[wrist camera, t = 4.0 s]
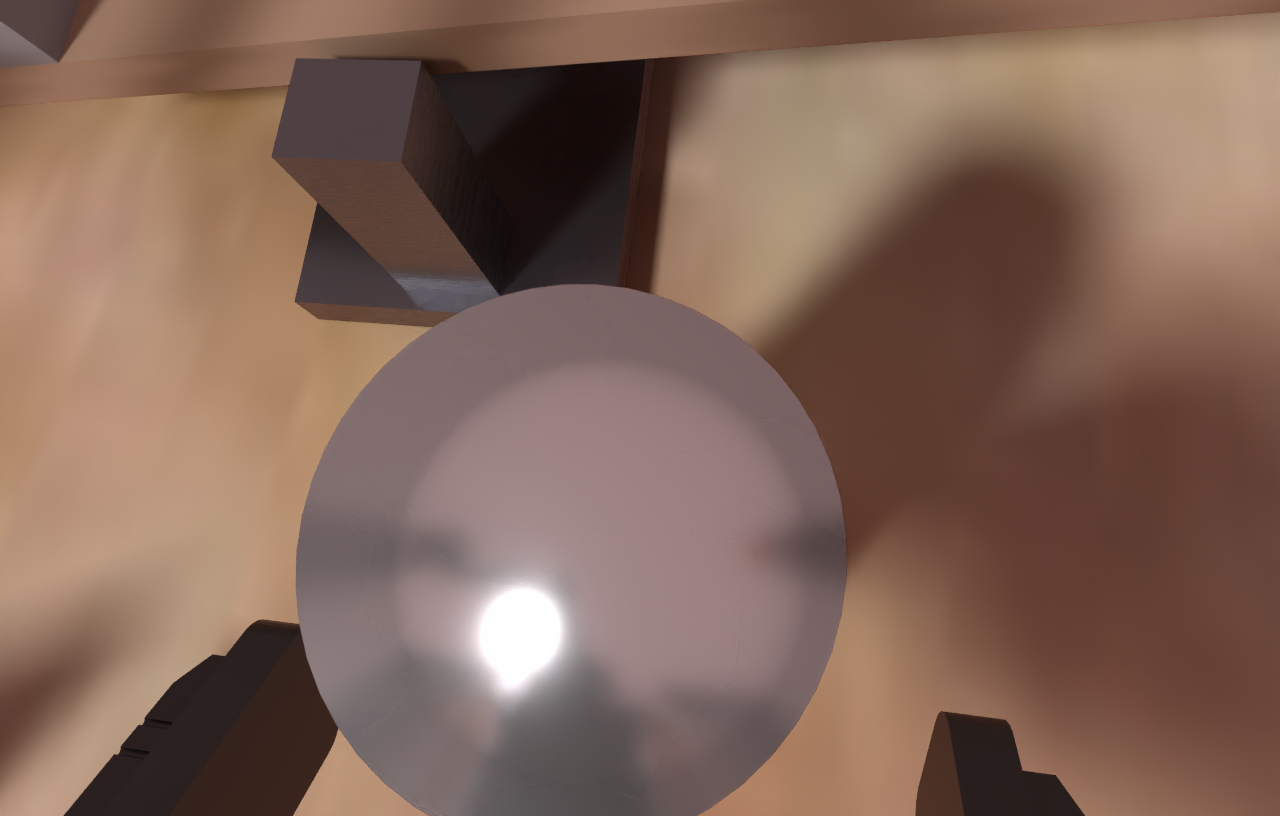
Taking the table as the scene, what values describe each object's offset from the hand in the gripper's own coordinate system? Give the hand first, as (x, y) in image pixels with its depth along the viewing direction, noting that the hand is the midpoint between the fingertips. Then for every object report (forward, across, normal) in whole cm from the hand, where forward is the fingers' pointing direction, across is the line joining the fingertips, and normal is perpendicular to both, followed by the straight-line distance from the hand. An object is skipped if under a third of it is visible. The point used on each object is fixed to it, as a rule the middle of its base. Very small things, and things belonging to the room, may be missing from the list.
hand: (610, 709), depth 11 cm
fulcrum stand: (+17, +6, -5) cm, 19 cm away
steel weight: (+7, 0, +4) cm, 8 cm away
